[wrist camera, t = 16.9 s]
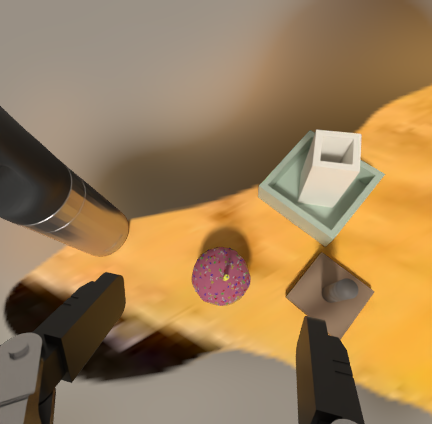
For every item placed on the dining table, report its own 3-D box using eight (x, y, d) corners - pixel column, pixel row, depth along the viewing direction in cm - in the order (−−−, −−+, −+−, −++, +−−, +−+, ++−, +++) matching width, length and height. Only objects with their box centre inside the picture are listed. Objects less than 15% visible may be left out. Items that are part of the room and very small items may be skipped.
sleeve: (297, 202, 46) (312, 165, 35) (300, 173, 48) (316, 129, 37) (332, 207, 45) (359, 171, 34) (335, 177, 47) (361, 134, 36)
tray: (258, 197, 49) (258, 185, 45) (305, 145, 52) (310, 130, 47) (325, 247, 44) (333, 239, 40) (373, 187, 47) (385, 174, 43)
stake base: (285, 297, 42) (294, 291, 34) (319, 253, 44) (336, 238, 35) (336, 340, 39) (360, 346, 31) (371, 292, 41) (403, 285, 32)
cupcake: (260, 274, 44) (263, 259, 33) (228, 319, 42) (220, 319, 31) (218, 244, 46) (208, 220, 35) (186, 284, 44) (165, 273, 33)
